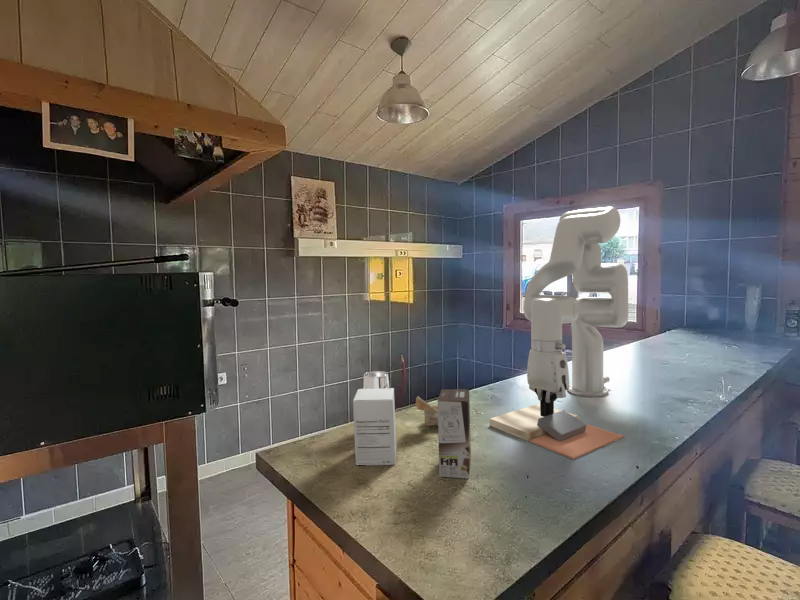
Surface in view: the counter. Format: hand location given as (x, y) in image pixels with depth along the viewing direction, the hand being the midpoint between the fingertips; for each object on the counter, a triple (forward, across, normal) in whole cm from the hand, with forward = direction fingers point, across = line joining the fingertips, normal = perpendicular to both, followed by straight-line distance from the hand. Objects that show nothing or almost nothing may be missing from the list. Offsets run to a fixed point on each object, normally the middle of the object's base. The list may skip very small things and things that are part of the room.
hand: (547, 415), depth 110 cm
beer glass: (+4, +28, +35) cm, 45 cm away
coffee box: (+4, -2, +33) cm, 33 cm away
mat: (+4, -8, 0) cm, 9 cm away
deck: (+4, +4, 0) cm, 6 cm away
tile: (+1, -4, 0) cm, 4 cm away
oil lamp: (+4, +21, +18) cm, 28 cm away
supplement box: (+4, +13, +44) cm, 46 cm away
